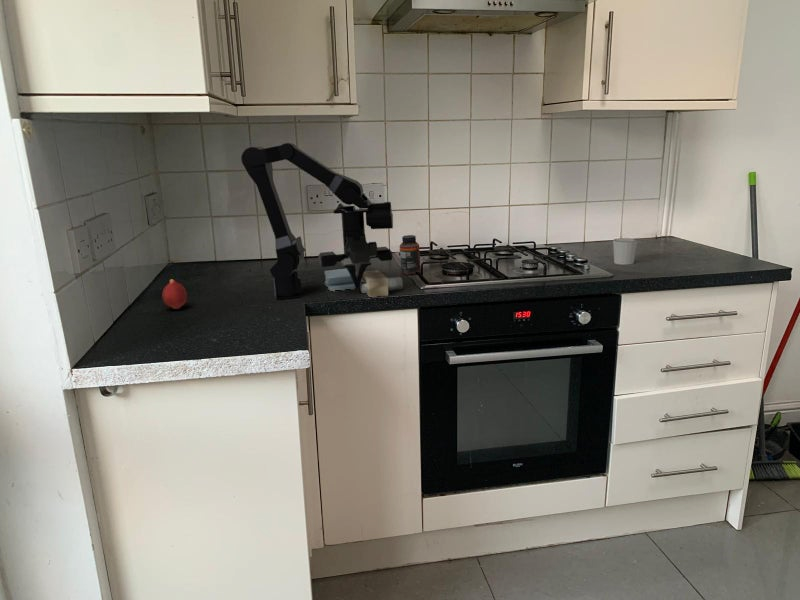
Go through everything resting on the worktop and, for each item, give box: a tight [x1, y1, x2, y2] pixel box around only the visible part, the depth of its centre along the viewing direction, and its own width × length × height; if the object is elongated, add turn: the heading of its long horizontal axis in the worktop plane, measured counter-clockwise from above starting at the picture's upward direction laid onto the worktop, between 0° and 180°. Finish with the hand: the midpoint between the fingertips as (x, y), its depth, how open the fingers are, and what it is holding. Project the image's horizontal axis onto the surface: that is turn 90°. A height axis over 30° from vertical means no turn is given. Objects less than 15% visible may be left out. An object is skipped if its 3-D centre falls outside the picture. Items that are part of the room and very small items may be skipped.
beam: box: [361, 269, 389, 298], centre depth 157 cm, size 5×10×5 cm, turn 16°
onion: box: [161, 279, 188, 310], centre depth 149 cm, size 6×6×8 cm
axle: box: [359, 276, 404, 294], centre depth 159 cm, size 11×4×4 cm, turn 106°
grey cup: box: [612, 237, 638, 266], centre depth 178 cm, size 7×7×7 cm
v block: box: [323, 268, 356, 292], centre depth 165 cm, size 8×9×4 cm
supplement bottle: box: [399, 234, 421, 276], centre depth 176 cm, size 6×6×11 cm
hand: (357, 288), depth 156 cm, fingers closed
